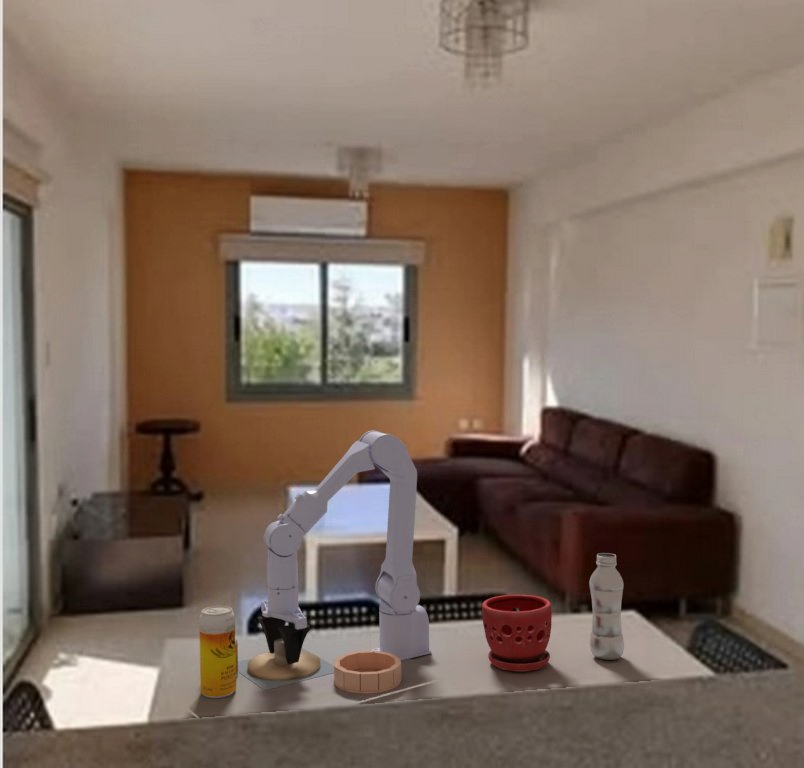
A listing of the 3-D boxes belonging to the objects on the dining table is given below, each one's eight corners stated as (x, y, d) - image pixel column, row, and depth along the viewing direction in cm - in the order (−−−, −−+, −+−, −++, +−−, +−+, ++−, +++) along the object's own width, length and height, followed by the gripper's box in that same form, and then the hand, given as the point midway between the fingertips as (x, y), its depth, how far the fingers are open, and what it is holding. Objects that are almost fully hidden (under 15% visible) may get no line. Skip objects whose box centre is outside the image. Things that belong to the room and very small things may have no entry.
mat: (301, 649, 182) (300, 647, 182) (342, 672, 169) (342, 670, 169) (227, 666, 173) (226, 664, 173) (265, 692, 160) (265, 689, 160)
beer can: (228, 702, 155) (226, 615, 155) (195, 700, 156) (193, 614, 156) (241, 689, 161) (239, 605, 161) (209, 686, 162) (207, 604, 162)
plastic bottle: (605, 666, 171) (605, 560, 170) (582, 655, 177) (582, 553, 176) (631, 660, 174) (631, 556, 173) (608, 649, 180) (608, 549, 179)
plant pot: (548, 652, 179) (547, 592, 178) (555, 677, 165) (554, 612, 165) (481, 651, 179) (481, 591, 179) (483, 676, 166) (482, 611, 166)
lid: (298, 650, 180) (298, 625, 180) (333, 670, 169) (333, 643, 169) (235, 664, 172) (235, 638, 172) (268, 686, 161) (267, 658, 161)
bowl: (377, 667, 172) (376, 646, 172) (414, 686, 162) (413, 664, 162) (322, 681, 165) (321, 659, 165) (357, 702, 155) (357, 679, 155)
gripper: (246, 581, 174) (247, 651, 174) (281, 598, 162) (283, 673, 162) (279, 575, 178) (280, 643, 178) (316, 591, 166) (317, 664, 166)
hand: (284, 657), depth 171 cm, fingers open, 6 cm apart
